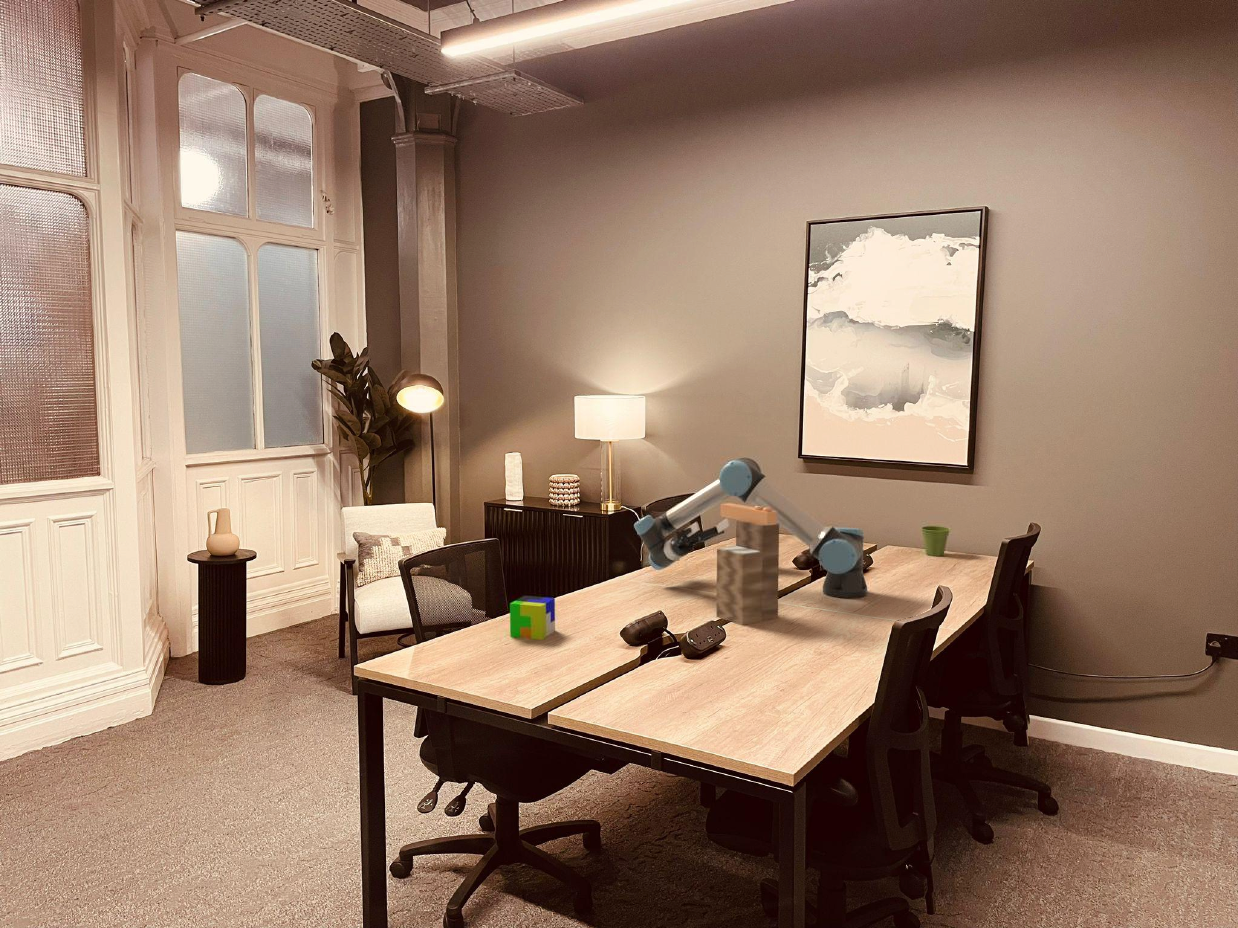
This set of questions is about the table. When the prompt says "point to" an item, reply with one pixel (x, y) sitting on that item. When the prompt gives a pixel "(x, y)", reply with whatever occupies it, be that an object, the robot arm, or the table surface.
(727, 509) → the orange beam
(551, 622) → the puzzle toy
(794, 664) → the table surface
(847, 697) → the table surface
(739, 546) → the step stand
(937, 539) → the plant pot
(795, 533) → the robot arm
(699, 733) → the table surface
